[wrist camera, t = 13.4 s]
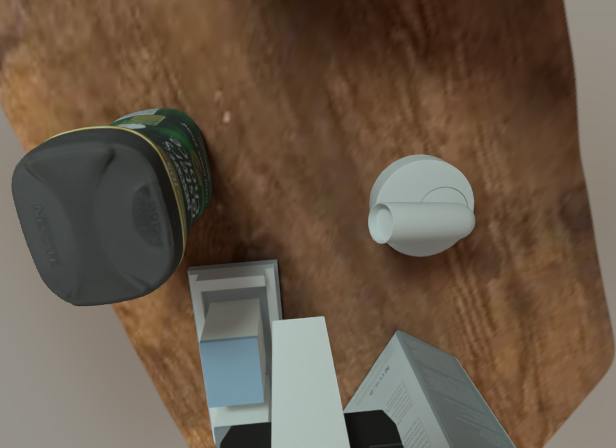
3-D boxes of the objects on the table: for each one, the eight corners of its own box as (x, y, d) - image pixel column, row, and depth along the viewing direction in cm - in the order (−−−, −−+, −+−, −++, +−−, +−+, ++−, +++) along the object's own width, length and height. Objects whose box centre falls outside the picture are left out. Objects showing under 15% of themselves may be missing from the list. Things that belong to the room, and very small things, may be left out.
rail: (189, 266, 45) (182, 282, 41) (277, 259, 45) (277, 274, 42) (213, 429, 50) (209, 454, 47) (291, 421, 50) (292, 445, 47)
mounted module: (222, 379, 47) (213, 430, 41) (268, 374, 47) (268, 425, 41) (229, 430, 49) (222, 487, 42) (274, 425, 49) (274, 481, 43)
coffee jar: (222, 210, 43) (187, 309, 26) (133, 225, 43) (36, 334, 25) (199, 98, 40) (140, 123, 23) (103, 114, 40) (-32, 150, 22)
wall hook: (387, 168, 33) (526, 185, 34) (363, 146, 42) (473, 161, 43) (365, 283, 36) (495, 296, 37) (346, 239, 45) (451, 251, 46)
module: (210, 302, 45) (199, 343, 38) (259, 298, 45) (257, 338, 38) (218, 359, 47) (209, 407, 40) (265, 354, 47) (264, 402, 40)
